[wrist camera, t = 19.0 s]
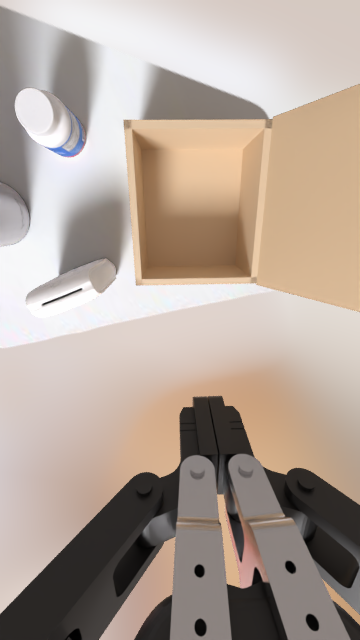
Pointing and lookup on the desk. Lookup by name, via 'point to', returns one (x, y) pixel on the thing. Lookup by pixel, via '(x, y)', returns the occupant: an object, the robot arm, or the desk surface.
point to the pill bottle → (50, 122)
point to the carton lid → (314, 202)
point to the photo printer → (71, 288)
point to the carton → (197, 199)
